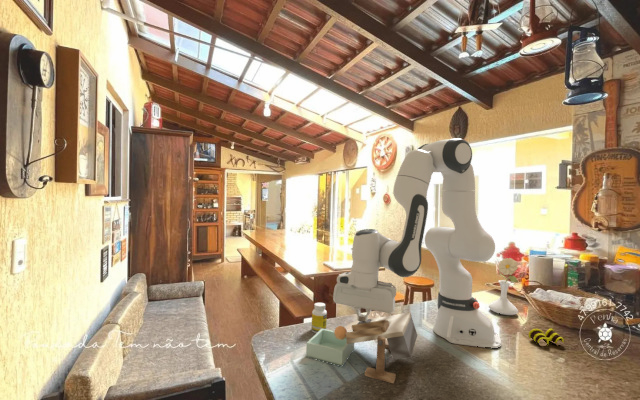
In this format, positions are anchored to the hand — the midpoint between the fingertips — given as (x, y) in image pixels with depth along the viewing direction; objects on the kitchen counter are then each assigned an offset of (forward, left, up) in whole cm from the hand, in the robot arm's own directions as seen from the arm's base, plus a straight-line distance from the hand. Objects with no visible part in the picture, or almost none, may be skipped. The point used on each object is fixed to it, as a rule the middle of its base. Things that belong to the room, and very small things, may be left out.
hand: (362, 321), depth 104 cm
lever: (-9, +4, -5) cm, 11 cm away
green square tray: (+8, +8, -9) cm, 14 cm away
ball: (+5, +8, -2) cm, 9 cm away
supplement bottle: (+18, -5, -9) cm, 21 cm away
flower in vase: (-47, -60, -9) cm, 77 cm away
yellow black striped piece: (-57, -34, -9) cm, 67 cm away
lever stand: (-9, +4, -9) cm, 13 cm away
